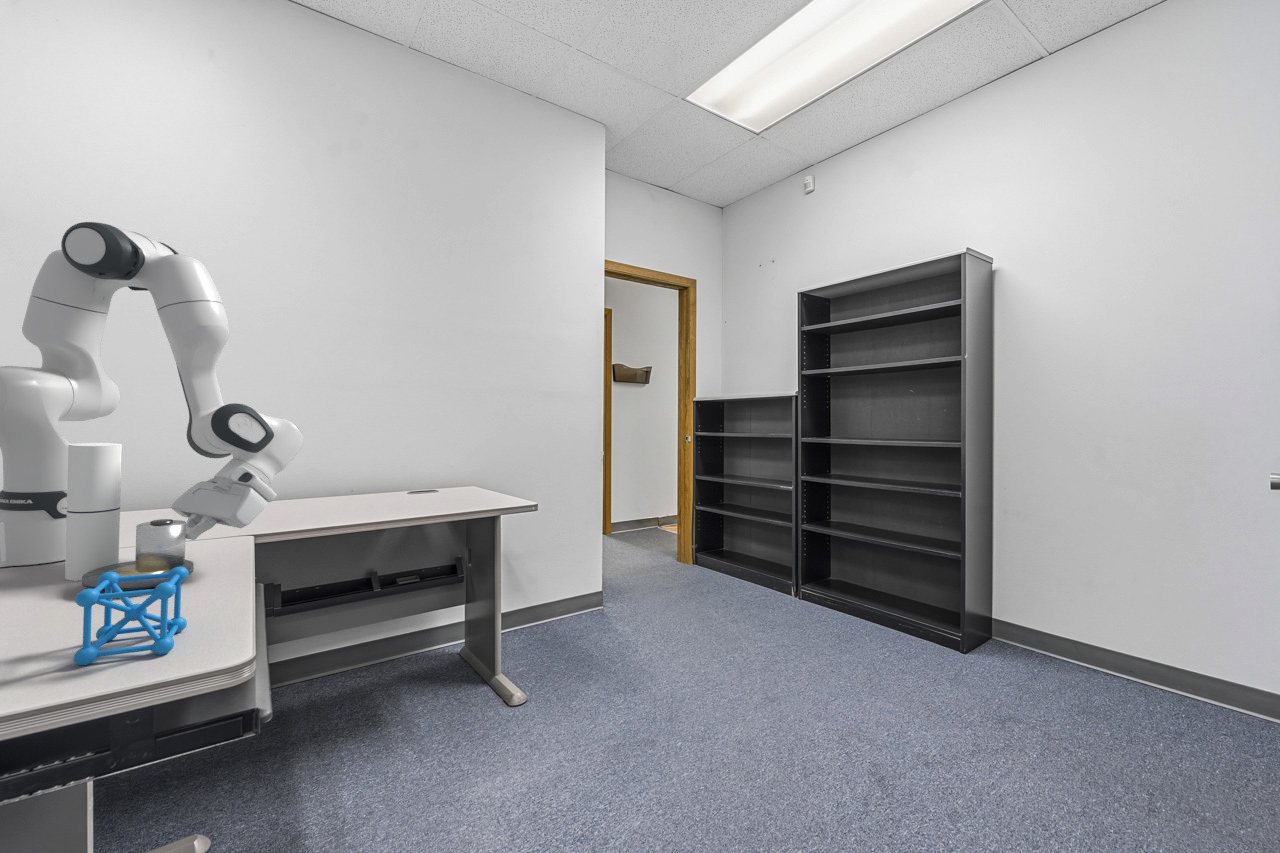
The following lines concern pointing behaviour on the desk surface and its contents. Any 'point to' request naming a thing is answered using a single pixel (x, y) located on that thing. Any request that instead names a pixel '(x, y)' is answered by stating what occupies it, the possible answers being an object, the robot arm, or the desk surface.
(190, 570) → the turntable platter
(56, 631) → the desk surface
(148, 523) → the silver metal canister
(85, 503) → the cylindrical container
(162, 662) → the desk surface
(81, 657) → the molecular structure
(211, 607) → the desk surface
